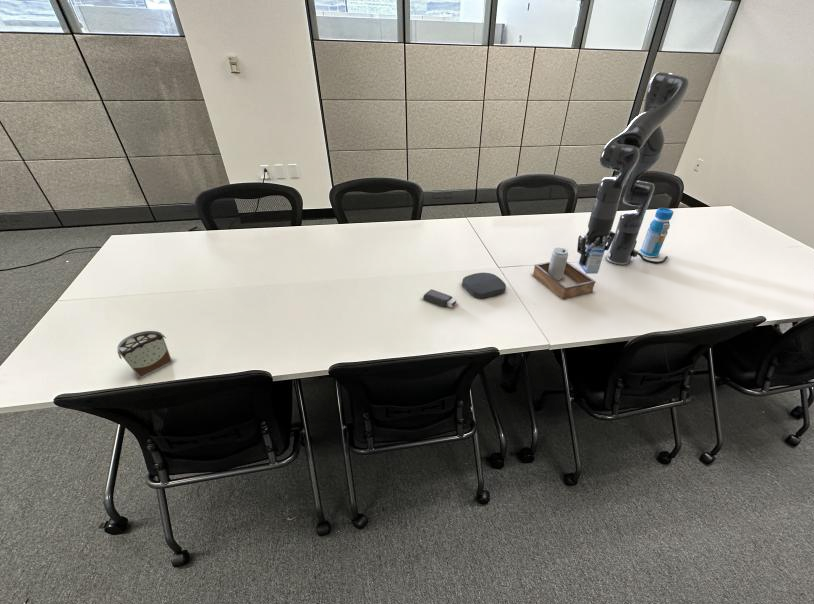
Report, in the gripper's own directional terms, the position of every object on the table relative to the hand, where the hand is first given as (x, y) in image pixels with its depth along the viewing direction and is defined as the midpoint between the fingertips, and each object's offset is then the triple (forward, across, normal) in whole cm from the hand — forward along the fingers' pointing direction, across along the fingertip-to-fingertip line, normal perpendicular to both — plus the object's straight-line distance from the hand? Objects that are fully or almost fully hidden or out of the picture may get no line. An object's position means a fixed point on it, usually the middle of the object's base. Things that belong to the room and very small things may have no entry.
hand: (589, 263), depth 144 cm
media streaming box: (+18, -26, +26) cm, 41 cm away
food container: (+18, -141, +21) cm, 144 cm away
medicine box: (+2, 0, 0) cm, 2 cm away
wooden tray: (+18, +6, +17) cm, 26 cm away
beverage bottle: (+18, +62, +26) cm, 69 cm away
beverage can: (+18, +6, +22) cm, 29 cm away
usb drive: (+18, -46, +23) cm, 55 cm away
